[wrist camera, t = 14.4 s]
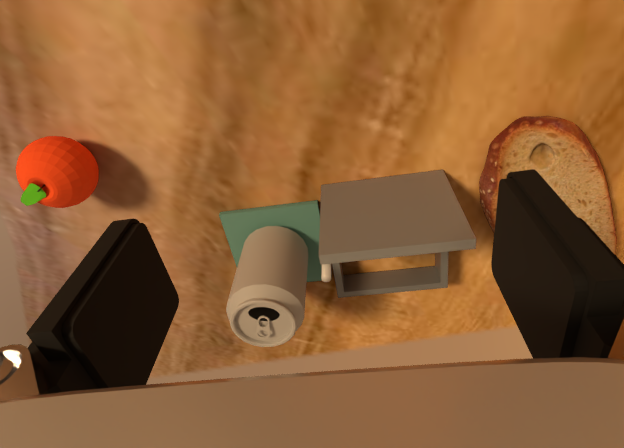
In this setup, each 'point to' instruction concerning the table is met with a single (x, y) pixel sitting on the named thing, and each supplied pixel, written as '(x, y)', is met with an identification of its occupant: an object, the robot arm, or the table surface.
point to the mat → (289, 216)
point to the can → (269, 287)
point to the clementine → (56, 172)
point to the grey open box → (391, 231)
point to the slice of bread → (551, 170)
